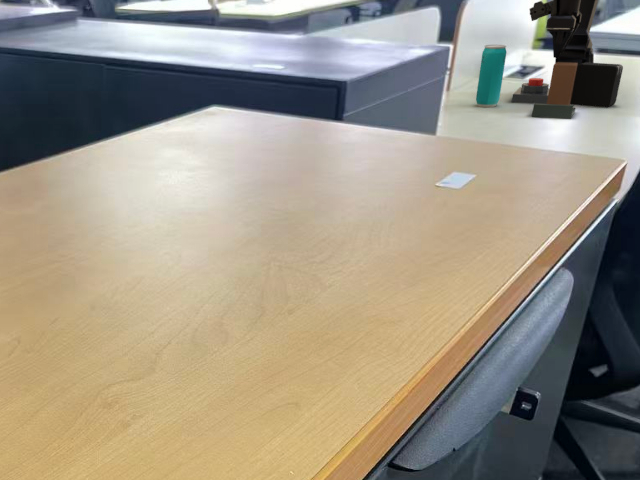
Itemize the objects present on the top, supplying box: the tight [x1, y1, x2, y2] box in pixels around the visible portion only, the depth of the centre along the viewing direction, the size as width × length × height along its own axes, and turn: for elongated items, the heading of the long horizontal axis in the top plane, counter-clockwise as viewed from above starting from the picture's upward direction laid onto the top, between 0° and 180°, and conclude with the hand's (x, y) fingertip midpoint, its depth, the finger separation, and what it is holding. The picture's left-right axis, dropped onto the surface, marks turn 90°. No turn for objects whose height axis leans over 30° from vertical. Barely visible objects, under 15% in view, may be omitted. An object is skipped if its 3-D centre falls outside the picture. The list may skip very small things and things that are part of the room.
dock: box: [531, 103, 576, 120], centre depth 213 cm, size 8×9×3 cm
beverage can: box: [475, 44, 507, 108], centre depth 224 cm, size 6×6×15 cm
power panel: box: [511, 82, 550, 104], centre depth 232 cm, size 12×9×4 cm
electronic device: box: [570, 62, 624, 108], centre depth 221 cm, size 4×10×10 cm, turn 44°
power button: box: [527, 77, 545, 86], centre depth 231 cm, size 4×4×2 cm
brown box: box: [547, 62, 578, 105], centre depth 217 cm, size 5×5×11 cm
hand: (558, 55), depth 221 cm, fingers open, 9 cm apart
